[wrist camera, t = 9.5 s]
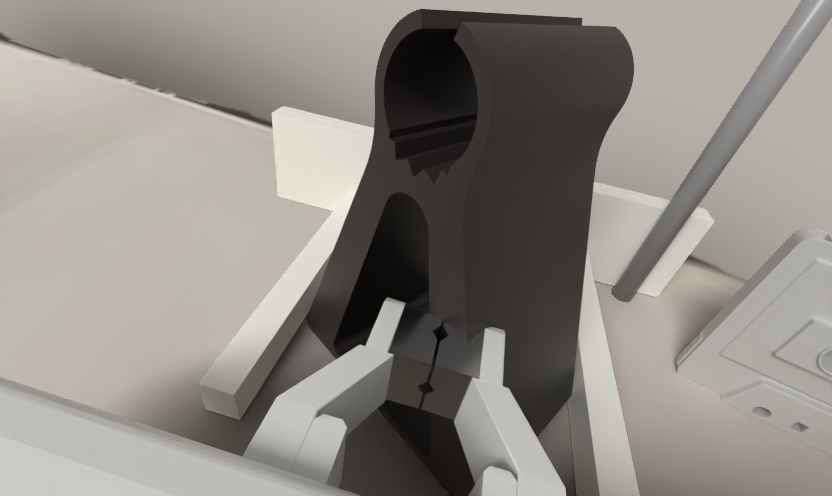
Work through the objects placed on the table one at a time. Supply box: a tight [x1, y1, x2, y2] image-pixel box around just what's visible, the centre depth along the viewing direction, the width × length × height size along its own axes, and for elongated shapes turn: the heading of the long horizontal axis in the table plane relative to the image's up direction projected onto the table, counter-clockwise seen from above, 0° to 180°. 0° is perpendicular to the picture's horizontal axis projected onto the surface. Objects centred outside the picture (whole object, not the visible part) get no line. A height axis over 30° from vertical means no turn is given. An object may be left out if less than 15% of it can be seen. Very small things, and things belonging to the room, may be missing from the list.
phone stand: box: [307, 9, 634, 496], centre depth 12 cm, size 9×6×12 cm, turn 43°
